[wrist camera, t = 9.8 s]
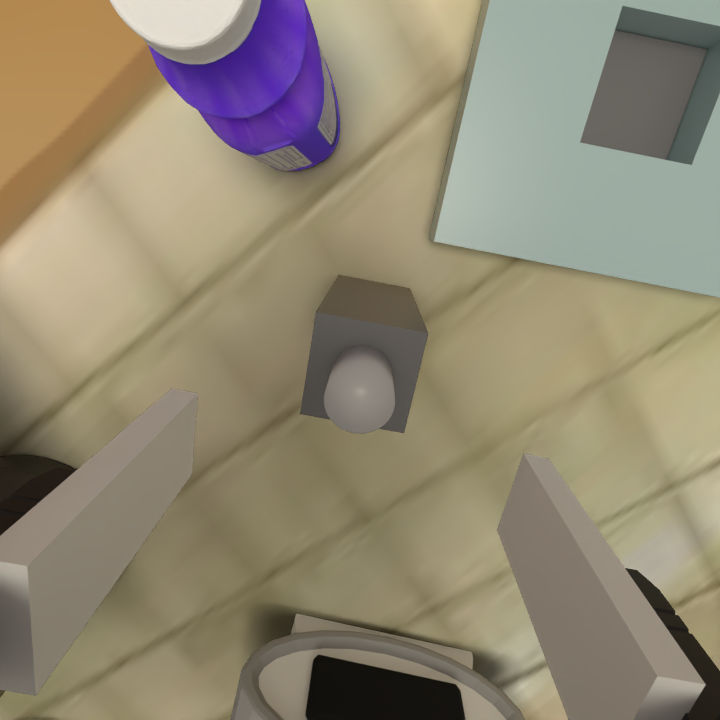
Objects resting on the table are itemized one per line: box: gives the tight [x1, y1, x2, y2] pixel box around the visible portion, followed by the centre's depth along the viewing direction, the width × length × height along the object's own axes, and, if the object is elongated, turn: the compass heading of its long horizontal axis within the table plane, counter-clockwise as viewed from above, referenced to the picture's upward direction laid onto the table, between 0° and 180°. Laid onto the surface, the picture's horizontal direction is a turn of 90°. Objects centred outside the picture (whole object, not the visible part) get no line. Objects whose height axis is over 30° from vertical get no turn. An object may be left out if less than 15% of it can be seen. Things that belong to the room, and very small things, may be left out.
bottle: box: [110, 0, 340, 171], centre depth 20 cm, size 7×6×17 cm
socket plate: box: [429, 0, 720, 297], centre depth 26 cm, size 20×20×3 cm
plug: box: [300, 275, 428, 433], centre depth 25 cm, size 5×5×15 cm
